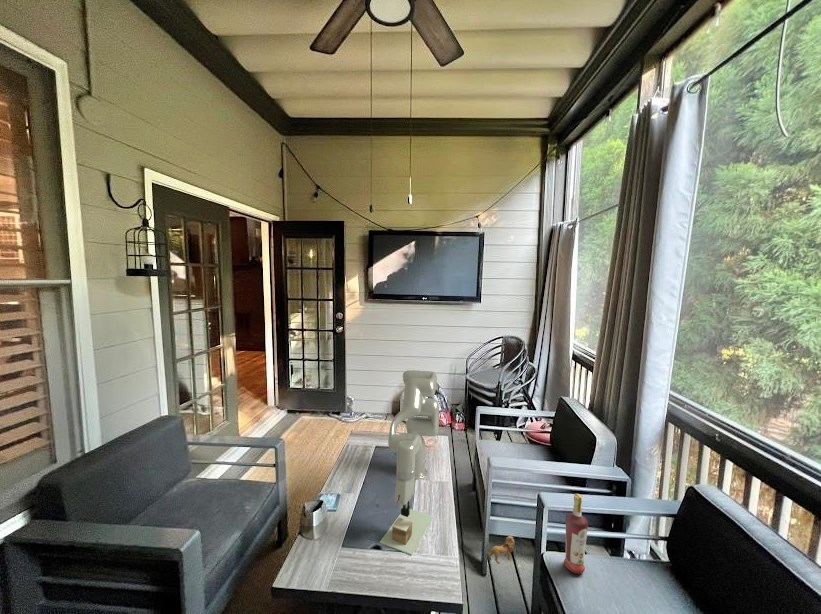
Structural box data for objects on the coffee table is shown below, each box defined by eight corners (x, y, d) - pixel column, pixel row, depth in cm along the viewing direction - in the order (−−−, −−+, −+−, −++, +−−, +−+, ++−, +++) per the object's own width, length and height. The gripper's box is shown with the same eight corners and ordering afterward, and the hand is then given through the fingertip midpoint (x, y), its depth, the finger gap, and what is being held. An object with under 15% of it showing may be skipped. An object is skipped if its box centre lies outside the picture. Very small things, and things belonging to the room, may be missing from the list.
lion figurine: (508, 549, 132) (509, 531, 132) (516, 557, 128) (517, 539, 128) (484, 560, 127) (485, 542, 126) (492, 569, 123) (493, 550, 122)
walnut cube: (392, 525, 135) (392, 539, 135) (405, 530, 132) (405, 545, 133) (399, 516, 140) (399, 530, 141) (412, 520, 138) (412, 534, 138)
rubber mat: (405, 508, 155) (405, 507, 155) (433, 517, 149) (433, 516, 149) (379, 543, 134) (379, 541, 134) (411, 555, 129) (411, 554, 129)
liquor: (573, 579, 119) (577, 504, 117) (558, 562, 126) (562, 491, 124) (589, 574, 121) (594, 500, 119) (574, 558, 128) (578, 488, 126)
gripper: (405, 461, 146) (405, 501, 147) (388, 479, 132) (388, 523, 134) (421, 465, 142) (420, 506, 144) (406, 484, 129) (405, 530, 130)
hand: (405, 514), depth 139 cm, fingers closed
